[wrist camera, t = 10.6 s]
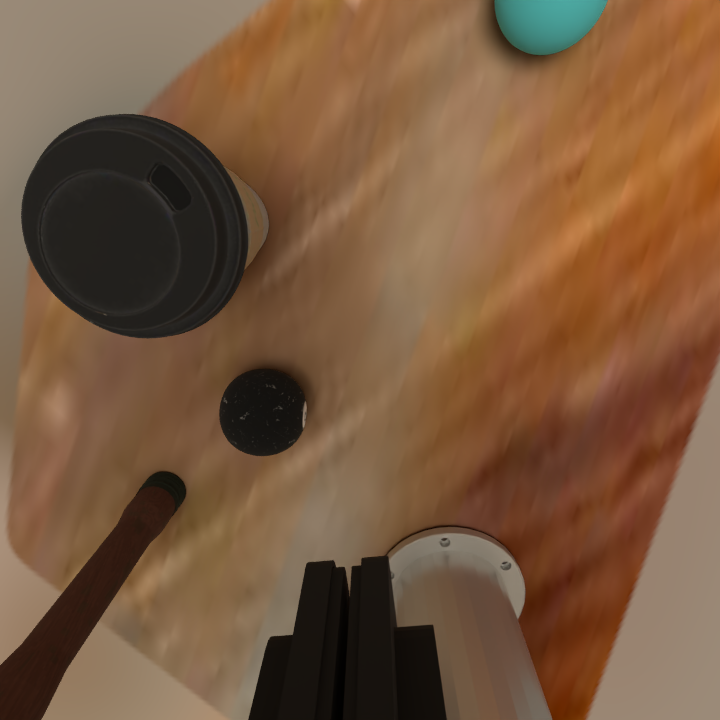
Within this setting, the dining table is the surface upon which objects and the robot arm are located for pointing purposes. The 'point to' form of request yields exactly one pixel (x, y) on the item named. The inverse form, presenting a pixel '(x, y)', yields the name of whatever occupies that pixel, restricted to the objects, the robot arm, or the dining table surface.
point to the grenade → (84, 602)
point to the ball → (546, 23)
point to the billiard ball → (263, 412)
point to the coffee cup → (139, 225)
